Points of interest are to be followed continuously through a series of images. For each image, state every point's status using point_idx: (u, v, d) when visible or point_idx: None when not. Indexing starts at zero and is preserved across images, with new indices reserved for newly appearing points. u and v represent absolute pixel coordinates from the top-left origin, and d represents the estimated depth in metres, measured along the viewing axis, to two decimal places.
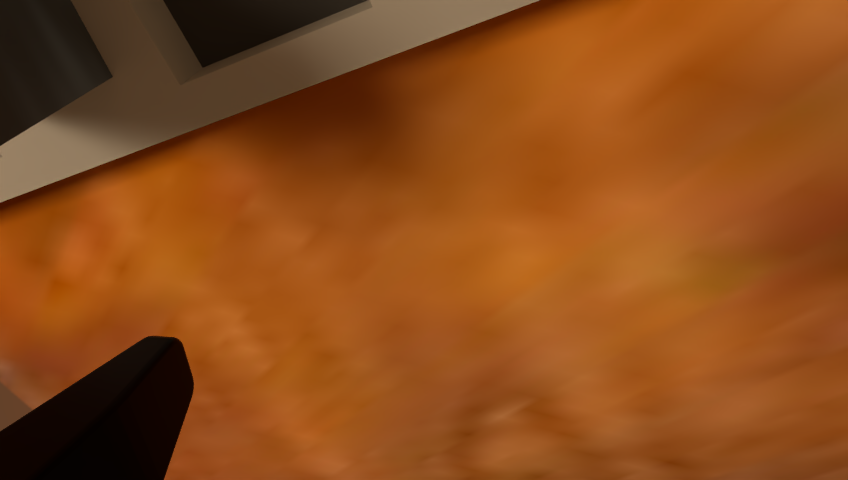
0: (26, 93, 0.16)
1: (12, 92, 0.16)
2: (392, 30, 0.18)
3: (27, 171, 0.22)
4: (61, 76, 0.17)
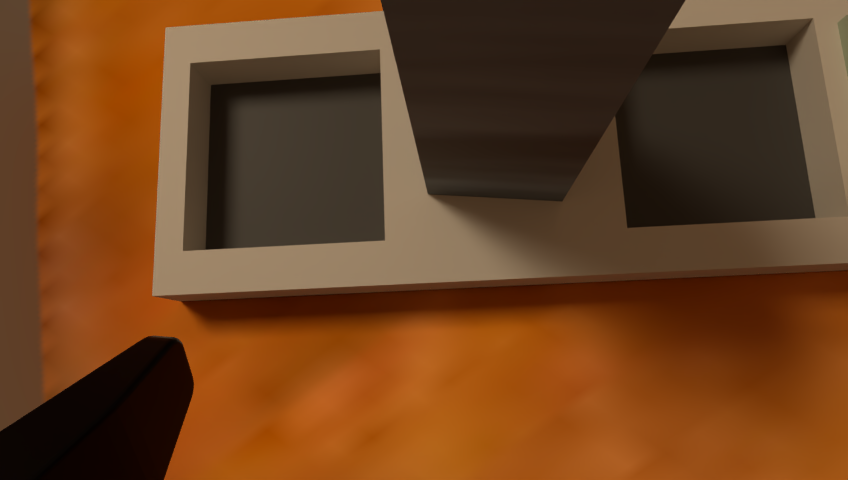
0: None
1: None
2: None
3: (399, 263, 0.20)
4: None
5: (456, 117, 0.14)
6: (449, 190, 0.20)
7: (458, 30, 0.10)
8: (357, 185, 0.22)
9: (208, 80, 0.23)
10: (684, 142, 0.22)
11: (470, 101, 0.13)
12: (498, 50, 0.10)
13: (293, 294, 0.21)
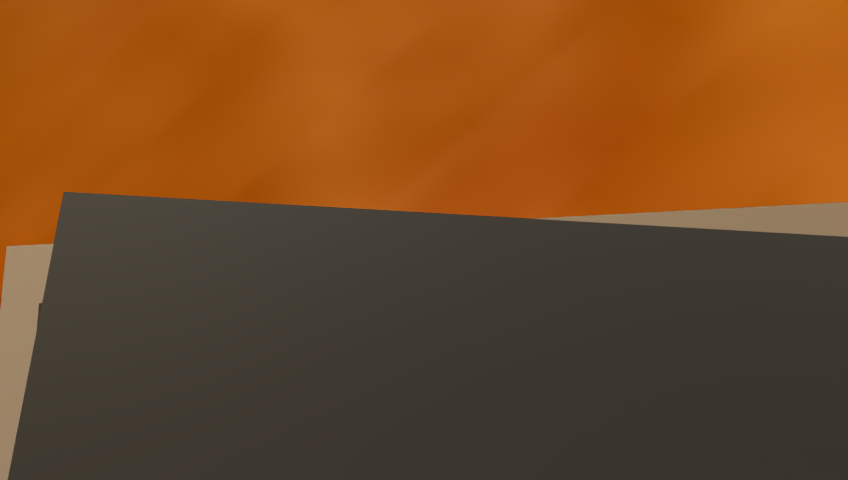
0: None
1: None
2: None
3: None
4: None
5: None
6: None
7: None
8: None
9: None
10: None
11: None
12: None
13: None
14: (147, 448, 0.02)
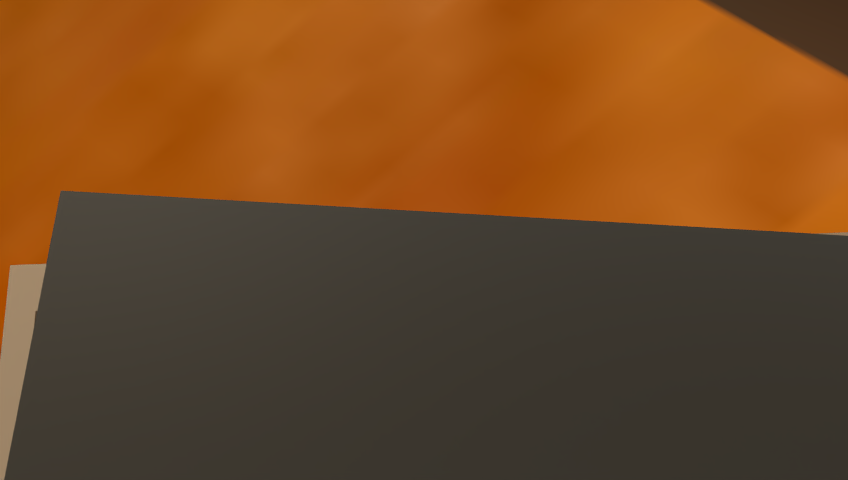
0: None
1: None
2: None
3: None
4: None
5: None
6: None
7: None
8: None
9: None
10: None
11: None
12: None
13: None
14: (143, 446, 0.02)
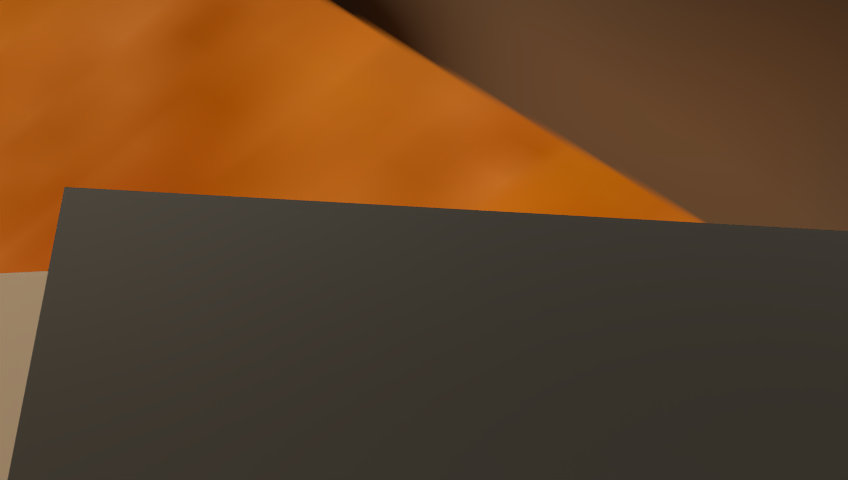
0: None
1: None
2: None
3: None
4: None
5: None
6: None
7: None
8: None
9: None
10: None
11: None
12: None
13: None
14: (148, 441, 0.02)
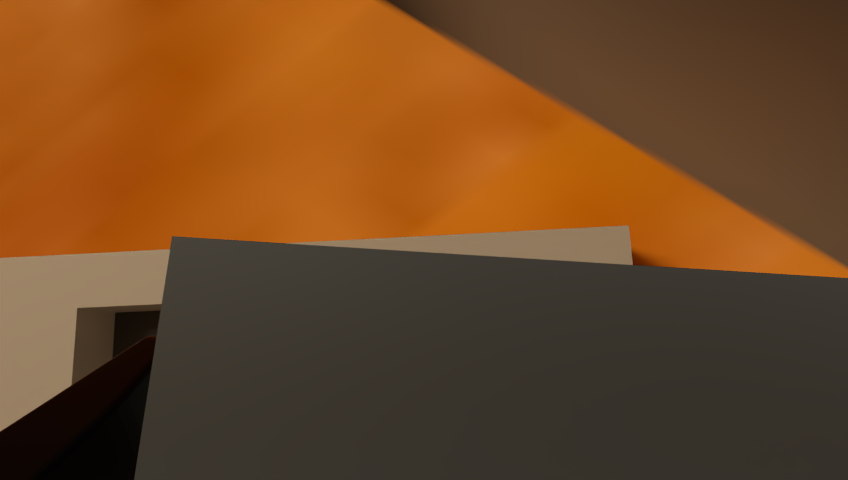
0: None
1: None
2: None
3: None
4: None
5: None
6: None
7: None
8: None
9: None
10: None
11: None
12: None
13: None
14: (238, 417, 0.03)
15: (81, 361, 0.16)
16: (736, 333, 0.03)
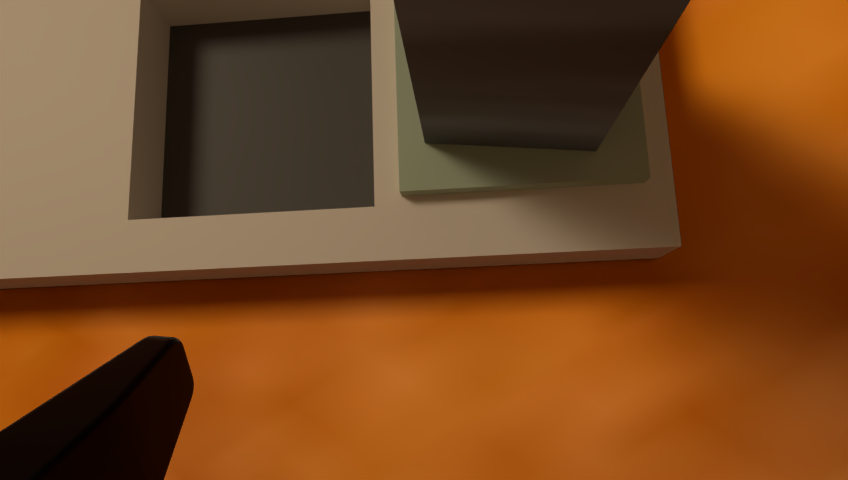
0: None
1: None
2: (385, 235, 0.16)
3: None
4: None
5: None
6: (452, 135, 0.15)
7: None
8: None
9: None
10: (252, 122, 0.19)
11: None
12: None
13: None
14: None
15: (144, 43, 0.18)
16: None
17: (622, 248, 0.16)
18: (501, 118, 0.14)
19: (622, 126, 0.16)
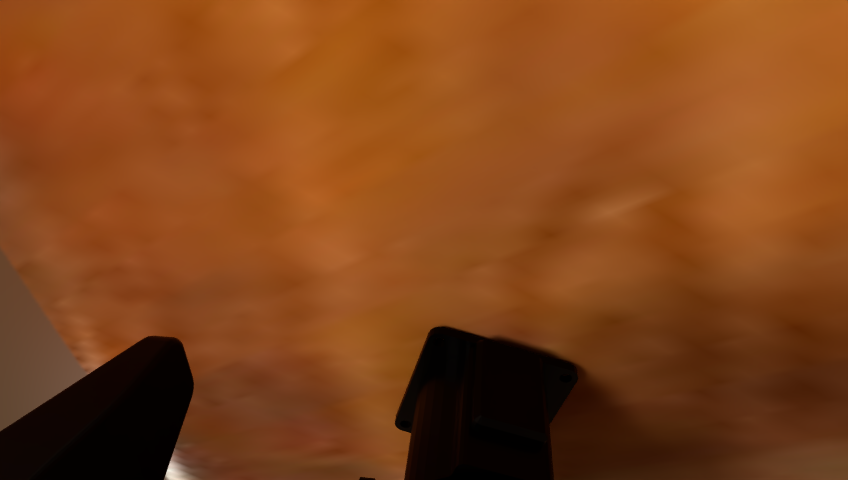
0: None
1: None
2: None
3: None
4: None
5: None
6: None
7: None
8: None
9: None
10: None
11: None
12: None
13: None
14: None
15: None
16: None
17: None
18: None
19: None
